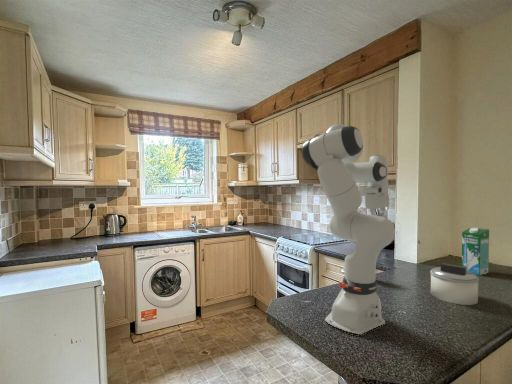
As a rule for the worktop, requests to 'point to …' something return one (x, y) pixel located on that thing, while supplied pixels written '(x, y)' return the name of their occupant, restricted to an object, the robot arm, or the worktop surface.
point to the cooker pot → (454, 290)
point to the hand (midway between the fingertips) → (377, 217)
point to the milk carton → (475, 250)
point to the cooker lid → (454, 272)
